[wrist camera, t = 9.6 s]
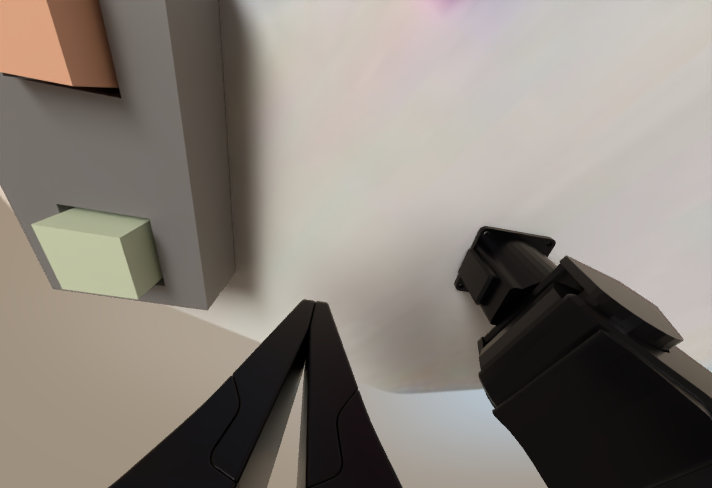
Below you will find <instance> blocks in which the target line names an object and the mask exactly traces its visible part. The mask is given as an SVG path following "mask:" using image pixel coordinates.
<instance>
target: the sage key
mask: <svg viewBox="0 0 712 488" xmlns="http://www.w3.org/2000/svg"><path fill="white" fill-rule="evenodd" d="M31 225H32V227H33V229H34V232H35V234H36V236H37V238H38V240H39V242H40V244H41V246H42V248H43V250H44V252H45V254H46V256H47V258H48V260H49V263H50V265H51V267H52V269H53V271H54V273H55V275H56V277H57V279H58V281H59V283H60V285H61V287H62V289H65V290H72V291H80V292H87V293H94V294H101V295H109V296H116V297H123V298H130V299H137V300H138V299H140V298H141V297H142V296H143V295H144V294H145V293H146V292H147V291H148V290H149V289H151V288H152V287H153V286H154V285H155V284H156V283H157V282H158V281H159V280H160V279H162V278H163V275H162V270H161V266H160V262H159V257H158V253H157V249H156V244H155V240H154V236H153V232H152V227H151V223H150V219H147V218H141V217H135V216H129V215H123V214H116V213H110V212H104V211H98V210H92V209H85V208H79V207H75V208H72V209H69V210H67V211H64V212H62V213H59V214H57V215H54V216H51V217H49V218H46V219H44V220H41V221H38V222H36V223H33V224H31Z"/></svg>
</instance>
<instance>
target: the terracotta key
mask: <svg viewBox="0 0 712 488" xmlns="http://www.w3.org/2000/svg"><path fill="white" fill-rule="evenodd" d="M0 72H2V73H8V74H13V75H18V76H23V77H28V78H33V79H39V80H44V81H49V82H54V83H59V84H64V85H70V86H82V87H108V88H119V85H118V81H117V77H116V72H115V68H114V64H113V59H112V55H111V51H110V46H109V42H108V38H107V34H106V29H105V25H104V21H103V16H102V12H101V8H100V3H99V0H0Z"/></svg>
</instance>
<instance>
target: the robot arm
mask: <svg viewBox="0 0 712 488" xmlns="http://www.w3.org/2000/svg"><path fill="white" fill-rule="evenodd" d="M486 231H488V232H487V233H486V234H484V232H486ZM548 242H549V243H548ZM547 243H548V244H547ZM546 244H547V245H546ZM555 244H556V242H555V240H553V239H552V238H550V237H545V236H540V235H534V234H528V233H522V232H517V231H511V230H505V229H500V228H494V227H488V226H484V227H482V228H480V230H479V231H478V233H477V236H476V238H475V240H474V242H473V244H472V246H471V248H470V249H469V250H468V252H467V254H466V256H465V259H464V261H463V263H462V265H461V267H460V269H459V272H458V273H459V275H458V277H457V279H456V281H455V284H454V285H455V287H456V289H457V290H460V291H466V292H469V293H470V294H471V296H472V298H473V300H474V302H475V303H476V304H477V305H480V306H481V308H482V309H483V311H484V313H485V315H486V316H487V318H488V320H489V322H490V323H491V324H492V325H496V326H495V327H494V328H493V329H492V330H491V331H490V332H489V333H488V334H487V335H486V336H485V337H482V338H481V339H480V340H478V350H479V361H480V367H481V371H480V372H479V379H480V381H481V383H482V386H483V388H484V390H485V392H486V395H487V397H488V399H489V400H490V402H491V404H492V405H493V407H494V408H495V409H494V410H493V414H494V416H495V417H496V418H497V419H498V420H499V421H500V422H501V423H502V424H503V425H504V426H505V427H506V428H507V429H508V430H509V431H510V432H511V434H512V435H513V436H514V437H515V439H516V440H517V441H518V442H519V444H520V445H521V446H522V447H523V449H524V450H525V452H526V453H527V455H528V456H529V458H530V459H531V461H532V462H533V464H534V466H535V467H536V469H537V471H538V472H539V474H540V475H541V477H542V478H543V480H544V482H545V483H546V485H547V487H548V488H712V373H711V372H710V371H709V370H707V369H706V368H705V367H703V366H702V365H701V364H699V363H698V362H697V361H695V360H694V359H692V358H691V357H690V356H688V355H687V354H686V353H684V352H683V351H682V350H680V349H679V348H678V347H676V346H675V345H677V344H678V343H680V342H682V341H683V338H682V337H681V335H680V334H679V333H678V332H677V330H676V329H675V328H674V327H673V326H672V324H671V323H670V322H669V321H668V319H667V318H666V317H665V316H664V315H663V313H662V312H661V311H660V310H659V308H658V307H657V306H655V305H654V304H653V303H651V302H650V301H648V300H647V299H645V298H644V297H642V296H641V295H639V294H638V293H636V292H635V291H633V290H632V289H630V288H629V287H627V286H625V285H624V284H622V283H621V282H619V281H618V280H616V279H614V278H612V277H609V276H607V275H605V274H603V273H601V272H599V271H597V270H595V269H593V268H591V267H589V266H587V265H585V264H583V263H581V262H579V261H577V260H575V259H573V258H571V257H569V256H565V257H564V258H563V259H562V260H561V261H560V264H559V265H558V266H556V265H555V264H554V263H553V262H552V261H551V260H549V259H548V258H547V257H548V255H549V254H550V252H551V251H552V249H553V248H554V246H555ZM460 284H462V285H461V286H459V285H460ZM304 365H305V369H304ZM303 369H304V381H303V396H302V413H301V427H300V428H301V429H300V444H299V458H298V474H297V488H402V486H401V484H400V482H399V480H398V478H397V475H396V473H395V471H394V469H393V468H392V465H391V463H390V461H389V459H388V458H387V455H386V453H385V451H384V449H383V447H382V445H381V443H380V441H379V438H378V436H377V434H376V432H375V430H374V428H373V425H372V423H371V421H370V418H369V416H368V413H367V411H366V408H365V405H364V403H363V400H362V397H361V395H360V392H359V391H358V387H357V384H356V381H355V378H354V375H353V372H352V370H351V367H350V364H349V361H348V358H347V355H346V353H345V350H344V347H343V344H342V341H341V339H340V336H339V333H338V330H337V327H336V325H335V322H334V319H333V316H332V313H331V310H330V308H329V305H328V303H326V302H320V301H317V302H315V301H313V300H306V299H304V300H302V301H301V302H300V303H299V304H298V305H297V306H296V307H295V308H294V310H293V311H292V312H291V313H290V314H289V315H288V316H287V317H286V318H285V319H284V320H283V321H282V322H281V323H280V324H279V325H278V326H277V328H276V329H275V330H274V331H273V332H272V333H271V334H270V335H269V336H268V337H267V338H266V339H265V340H264V341H263V342H262V343H261V345H260V346H259V347H258V348H257V349H256V350H255V351H254V352H253V353H252V354H251V355H250V356H249V357H248V358H247V359H246V360H245V362H243V364H242V365H241V366H240V367H239V368H238V369H237V370H236V371H235V372H234V373H233V376H230V377H229V378H228V379H227V380H226V381H225V383H223V385H222V386H221V387H220V388H219V389H218V390H217V391H216V392H215V393H214V394H213V395H212V396H211V397H210V398H209V399H208V400H207V401H206V402H205V403H204V404H203V405H202V406H201V407H200V408H198V409H197V410H196V411H195V412H194V413H193V414H192V415H191V416H190V417H189V418H187V419H186V420H185V421H184V422H183V423H182V424H181V425H180V426H179V427H178V428H176V429H175V430H174V431H173V432H172V433H171V434H169V435H168V436H167V437H166V438H165V439H164V440H163V441H162V442H160V443H159V444H158V445H157V446H156V447H155V448H154V449H152V450H151V451H150V452H149V453H148V454H147V455H146V456H144V458H142V459H141V460H140V461H139V462H138V463H137V464H135V465H134V466H133V467H132V468H131V469H130V470H129V471H128V472H126V473H125V474H124V475H123V476H122V477H121V478H119V479H118V480H117V481H116V482H115V483H113V484H112V485H111V486H109V487H108V488H267V485H268V482H269V479H270V476H271V472H272V469H273V466H274V463H275V459H276V457H277V453H278V450H279V447H280V444H281V441H282V437H283V434H284V431H285V428H286V424H287V421H288V418H289V415H290V412H291V408H292V405H293V402H294V399H295V395H296V392H297V389H298V386H299V383H300V380H301V376H302V373H303Z"/></svg>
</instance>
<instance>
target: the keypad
mask: <svg viewBox="0 0 712 488" xmlns="http://www.w3.org/2000/svg"><path fill="white" fill-rule="evenodd" d="M99 3H100V8H101V12H102V16H103V21H104V25H105V29H106V34H107V38H108V42H109V46H110V51H111V55H112V59H113V64H114V68H115V72H116V77H117V81H118V85H119V88H108V87H82V86H70V85H64V84H59V83H54V82H49V81H44V80H39V79H33V78H28V77H23V76H18V75H13V74H8V73H2V72H0V185H1V187H2V189H3V191H4V193H5V195H6V197H7V199H8V201H9V203H10V205H11V207H12V209H13V211H14V213H15V215H16V217H17V219H18V221H19V223H20V224H21V227H22V229H23V231H24V233H25V234H26V236H27V239H28V241H29V242H30V245H31V247H32V248H33V250H34V252H35V254H36V256H37V258H38V260H39V262H40V264H41V266H42V268H43V270H44V272H45V274H46V275H47V278H48V280H49V282H50V284H51V286H52V288H53V289H58V290H65V289H62V287H61V285H60V283H59V281H58V279H57V277H56V275H55V273H54V271H53V269H52V267H51V265H50V263H49V260H48V258H47V256H46V254H45V252H44V250H43V248H42V246H41V244H40V242H39V240H38V238H37V236H36V234H35V232H34V229H33V227H32V225H31V224H33V223H36V222H38V221H41V220H44V219H46V218H49V217H51V216H54V215H57V214H59V213H62V212H64V211H67V210H69V209H72V208H75V207H79V208H85V209H92V210H98V211H104V212H110V213H116V214H123V215H129V216H135V217H141V218H147V219H150V223H151V227H152V232H153V236H154V240H155V244H156V249H157V253H158V257H159V262H160V266H161V270H162V275H163V278H162V279H160V280H159V281H158V282H157V283H156V284H155V285H154V286H153V287H152V288H151V289H149V290H148V291H147V292H146V293H145V294H144V295H143V296H142V297H141V298H140V299H138V300H137V299H130V298H123V297H116V296H109V295H101V294H94V293H87V292H80V291H72V290H65V291H71V292H79V293H86V294H93V295H100V296H108V297H115V298H122V299H129V300H137V301H144V302H151V303H158V304H166V305H173V306H180V307H187V308H195V309H202V310H208V309H209V308H210V306H211V305H212V304H213V302H214V301H215V299H216V298H217V297H218V295H219V294H220V292H221V291H222V290H223V288H224V287H225V285H226V284H227V283H228V281H229V280H230V278H231V277H232V276H233V274H234V273H235V260H234V244H233V228H232V211H231V195H230V179H229V162H228V146H227V129H226V113H225V97H224V80H223V64H222V48H221V31H220V15H219V0H99Z"/></svg>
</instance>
